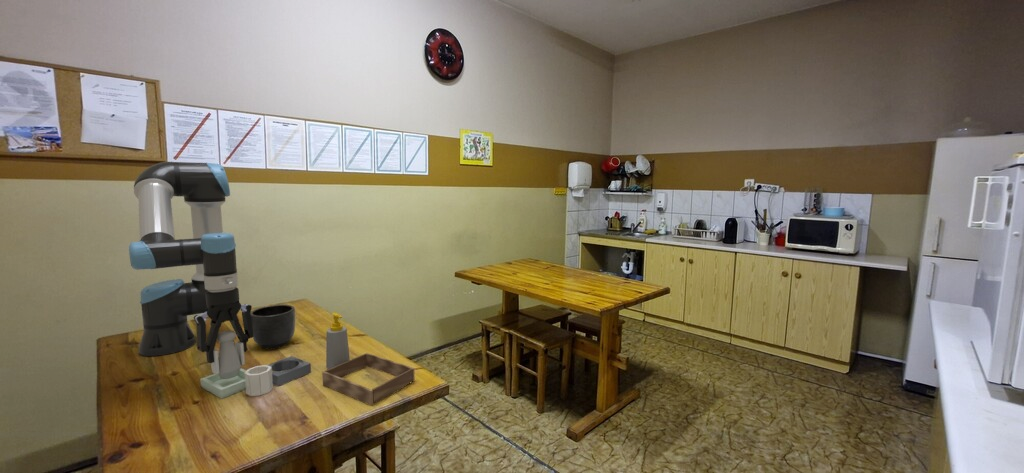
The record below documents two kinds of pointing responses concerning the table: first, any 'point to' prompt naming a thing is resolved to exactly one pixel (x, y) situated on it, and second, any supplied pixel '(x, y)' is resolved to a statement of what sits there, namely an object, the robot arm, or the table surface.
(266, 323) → the planter
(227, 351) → the salt shaker
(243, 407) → the table surface
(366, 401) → the book tray
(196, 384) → the table surface
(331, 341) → the soap bottle
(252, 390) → the octagonal gray cup
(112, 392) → the table surface
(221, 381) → the mint green tray
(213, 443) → the table surface
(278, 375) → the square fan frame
